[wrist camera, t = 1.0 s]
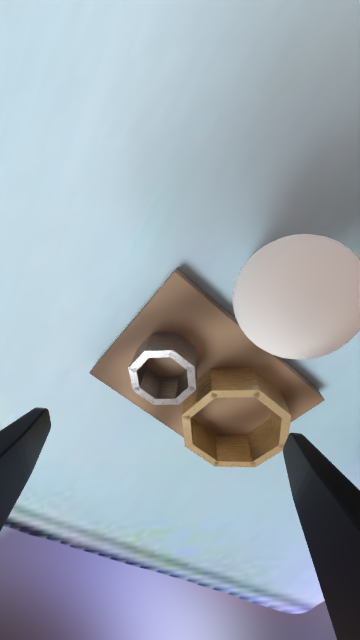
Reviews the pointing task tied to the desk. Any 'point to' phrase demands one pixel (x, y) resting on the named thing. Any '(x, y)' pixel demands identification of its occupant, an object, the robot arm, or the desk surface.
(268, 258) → the lightbulb
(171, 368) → the walnut board
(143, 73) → the desk surface
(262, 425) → the brass collar
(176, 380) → the grey small collar
